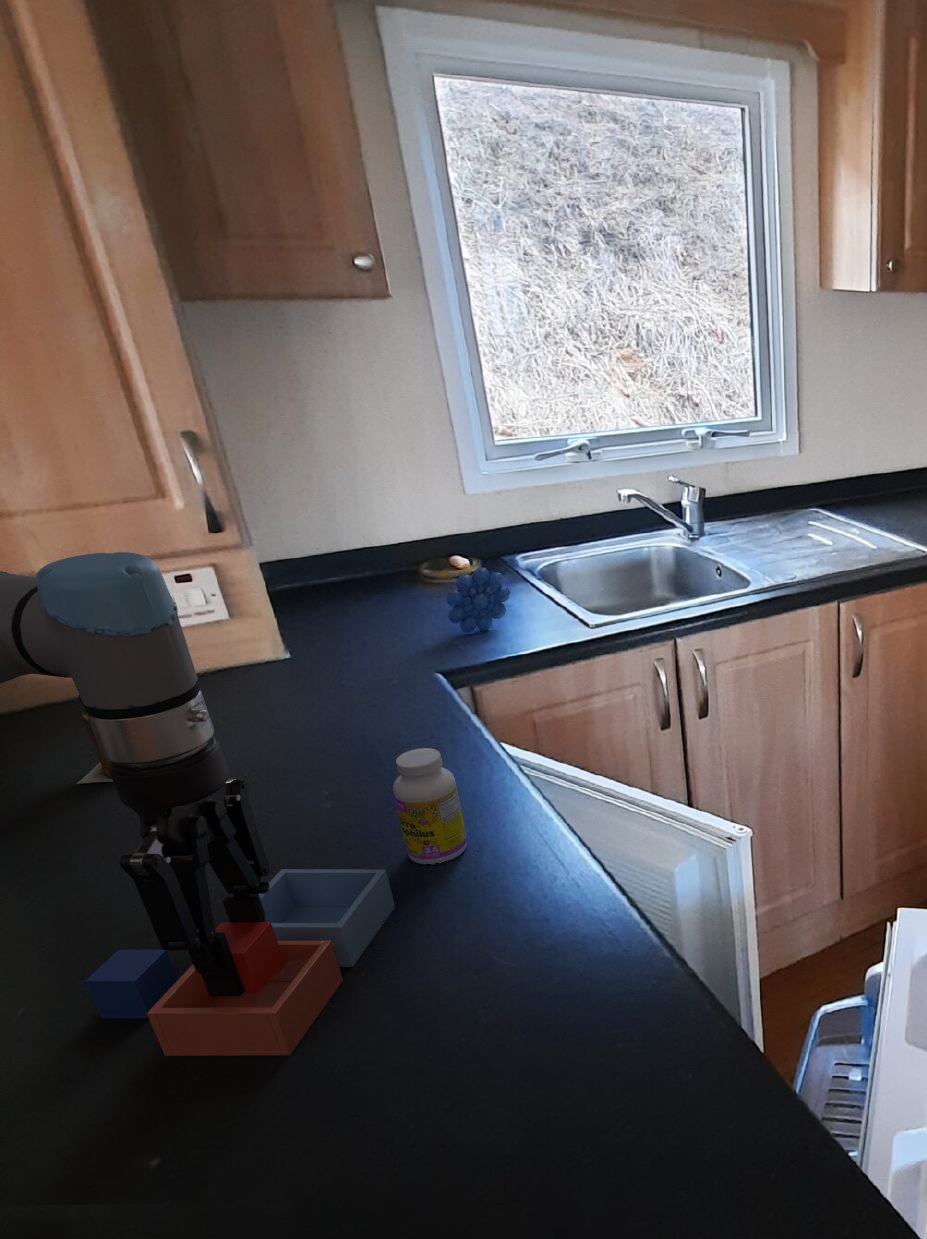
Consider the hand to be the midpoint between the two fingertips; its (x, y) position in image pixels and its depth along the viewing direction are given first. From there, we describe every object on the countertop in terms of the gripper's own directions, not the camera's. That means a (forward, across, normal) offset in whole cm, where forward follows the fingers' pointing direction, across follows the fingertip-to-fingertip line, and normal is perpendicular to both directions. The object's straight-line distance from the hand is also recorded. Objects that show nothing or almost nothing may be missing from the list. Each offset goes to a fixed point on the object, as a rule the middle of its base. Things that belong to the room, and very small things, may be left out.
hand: (243, 973), depth 88 cm
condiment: (+5, +48, +44) cm, 65 cm away
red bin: (+5, 0, 0) cm, 5 cm away
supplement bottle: (+5, +28, -6) cm, 29 cm away
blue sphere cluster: (+5, +104, +15) cm, 105 cm away
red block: (0, 0, 0) cm, 0 cm away
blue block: (+5, +2, +12) cm, 13 cm away
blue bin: (+5, +12, 0) cm, 13 cm away
